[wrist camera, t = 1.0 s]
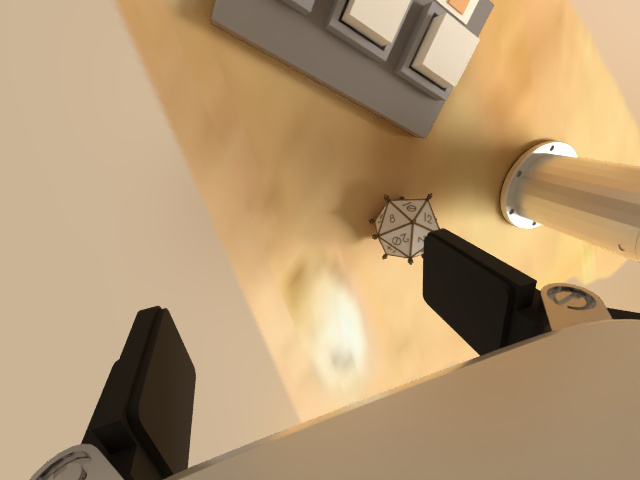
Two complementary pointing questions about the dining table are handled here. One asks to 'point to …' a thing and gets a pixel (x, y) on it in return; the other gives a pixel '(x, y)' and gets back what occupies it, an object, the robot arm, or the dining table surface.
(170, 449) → the robot arm
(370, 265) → the dining table surface
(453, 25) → the button
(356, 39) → the button board
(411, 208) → the game die
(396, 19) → the middle button
